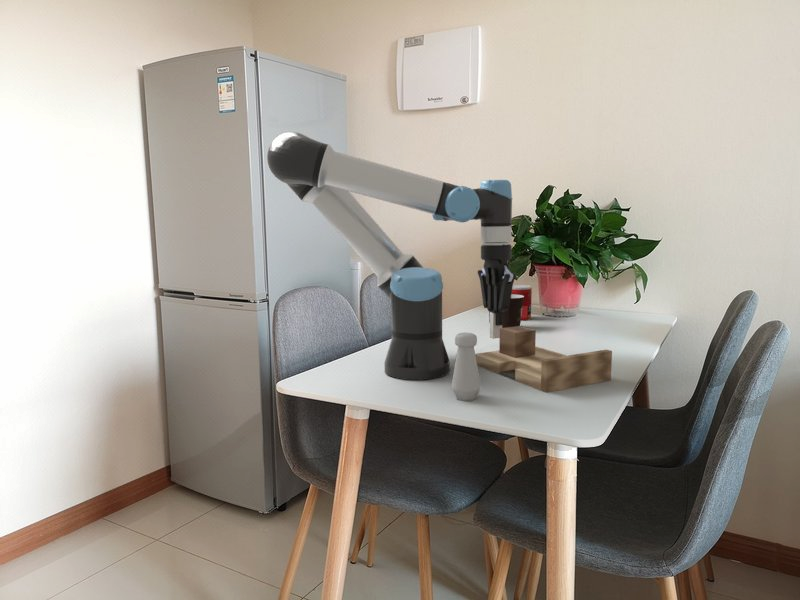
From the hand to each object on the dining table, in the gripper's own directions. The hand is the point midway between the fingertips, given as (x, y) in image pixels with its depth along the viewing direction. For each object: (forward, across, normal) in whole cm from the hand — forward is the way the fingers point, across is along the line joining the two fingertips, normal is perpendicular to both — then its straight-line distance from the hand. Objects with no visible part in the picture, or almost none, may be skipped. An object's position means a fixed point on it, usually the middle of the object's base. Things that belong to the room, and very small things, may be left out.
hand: (495, 337), depth 153 cm
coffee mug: (+5, +27, -24) cm, 36 cm away
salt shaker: (+5, -25, +25) cm, 36 cm away
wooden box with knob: (+5, -17, 0) cm, 18 cm away
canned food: (+5, +39, -38) cm, 55 cm away
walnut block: (+2, -9, 0) cm, 9 cm away
